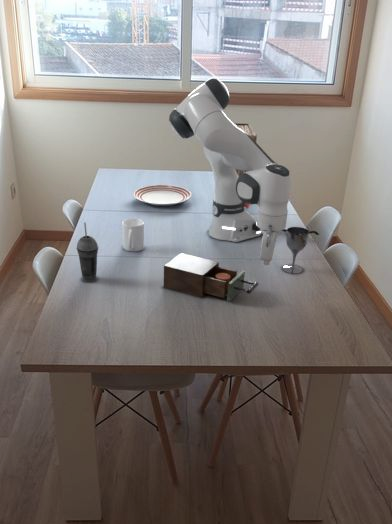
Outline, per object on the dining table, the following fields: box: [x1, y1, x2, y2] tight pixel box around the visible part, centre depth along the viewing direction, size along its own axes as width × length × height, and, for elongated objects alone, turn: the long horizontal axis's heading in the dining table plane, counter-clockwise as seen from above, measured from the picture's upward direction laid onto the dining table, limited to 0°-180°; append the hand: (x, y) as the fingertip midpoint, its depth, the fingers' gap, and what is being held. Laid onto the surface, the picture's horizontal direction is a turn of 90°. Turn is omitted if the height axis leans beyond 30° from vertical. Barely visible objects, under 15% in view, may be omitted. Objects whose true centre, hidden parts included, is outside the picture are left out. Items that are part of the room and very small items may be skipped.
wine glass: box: [282, 226, 310, 274], centre depth 211 cm, size 8×8×15 cm
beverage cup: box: [76, 222, 99, 283], centre depth 196 cm, size 7×7×20 cm
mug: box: [121, 218, 145, 253], centre depth 222 cm, size 12×8×10 cm
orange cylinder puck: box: [215, 273, 230, 291], centre depth 194 cm, size 5×5×4 cm
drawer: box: [203, 266, 259, 302], centre depth 193 cm, size 19×11×6 cm, turn 64°
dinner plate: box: [133, 184, 192, 207], centre depth 276 cm, size 28×27×3 cm
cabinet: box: [163, 252, 220, 298], centre depth 198 cm, size 15×13×8 cm
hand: (266, 263), depth 183 cm, fingers closed
